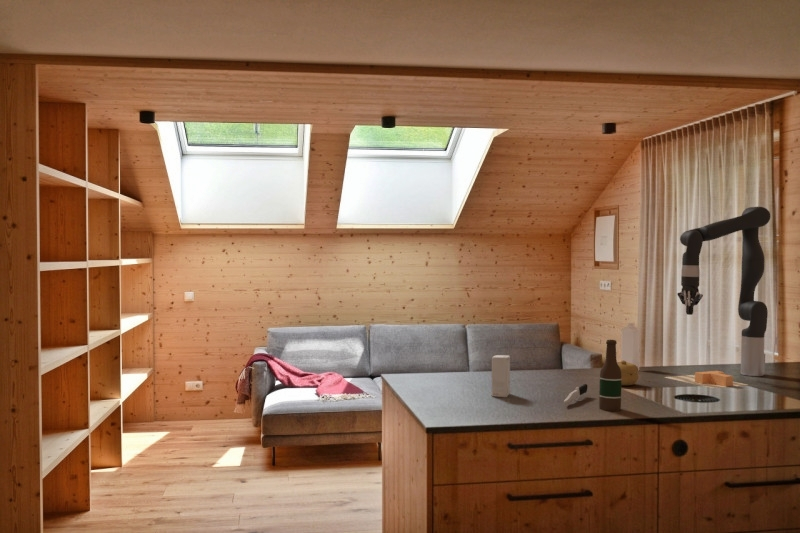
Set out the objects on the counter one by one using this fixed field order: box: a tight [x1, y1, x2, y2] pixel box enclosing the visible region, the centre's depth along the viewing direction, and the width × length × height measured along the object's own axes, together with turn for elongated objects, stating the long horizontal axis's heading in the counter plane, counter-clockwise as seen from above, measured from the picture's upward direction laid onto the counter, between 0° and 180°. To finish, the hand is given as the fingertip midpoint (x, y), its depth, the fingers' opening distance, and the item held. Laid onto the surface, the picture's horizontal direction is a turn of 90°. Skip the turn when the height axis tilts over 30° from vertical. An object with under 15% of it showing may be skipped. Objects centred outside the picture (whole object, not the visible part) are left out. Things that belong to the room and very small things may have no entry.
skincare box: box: [491, 354, 511, 398], centre depth 272 cm, size 8×6×15 cm
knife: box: [563, 383, 588, 407], centre depth 262 cm, size 25×2×5 cm, turn 148°
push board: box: [664, 374, 748, 389], centre depth 302 cm, size 20×26×1 cm
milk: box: [620, 322, 641, 372], centre depth 332 cm, size 6×6×22 cm
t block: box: [694, 370, 734, 388], centre depth 296 cm, size 12×12×4 cm
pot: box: [617, 360, 639, 387], centre depth 297 cm, size 12×12×10 cm
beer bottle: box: [598, 339, 622, 412], centre depth 251 cm, size 8×8×24 cm
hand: (689, 314), depth 322 cm, fingers closed
